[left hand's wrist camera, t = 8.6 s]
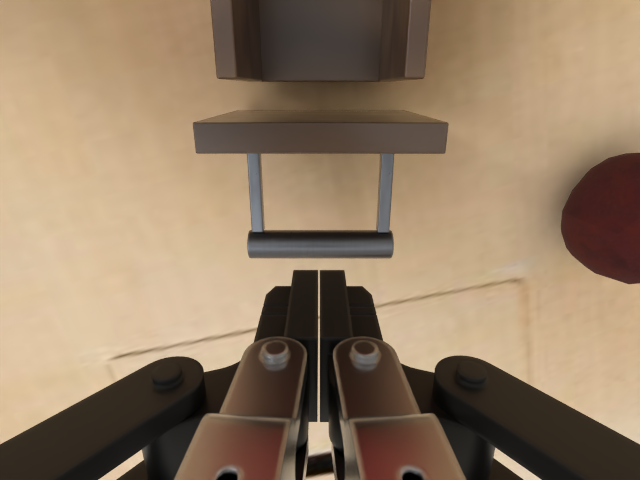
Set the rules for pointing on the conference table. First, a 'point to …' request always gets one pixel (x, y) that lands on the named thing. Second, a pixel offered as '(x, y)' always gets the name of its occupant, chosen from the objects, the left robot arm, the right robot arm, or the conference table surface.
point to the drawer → (320, 126)
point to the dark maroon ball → (606, 219)
